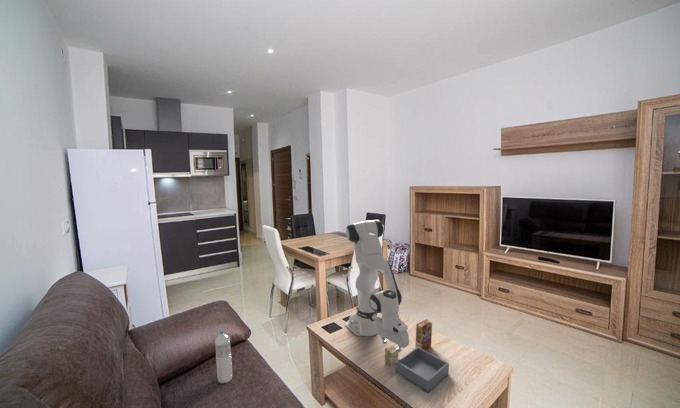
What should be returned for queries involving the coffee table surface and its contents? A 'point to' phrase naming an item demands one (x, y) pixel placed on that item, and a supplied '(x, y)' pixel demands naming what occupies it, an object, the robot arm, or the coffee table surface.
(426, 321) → the candy box
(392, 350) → the beech block
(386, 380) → the coffee table surface
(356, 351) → the coffee table surface
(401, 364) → the bin
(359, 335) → the robot arm
